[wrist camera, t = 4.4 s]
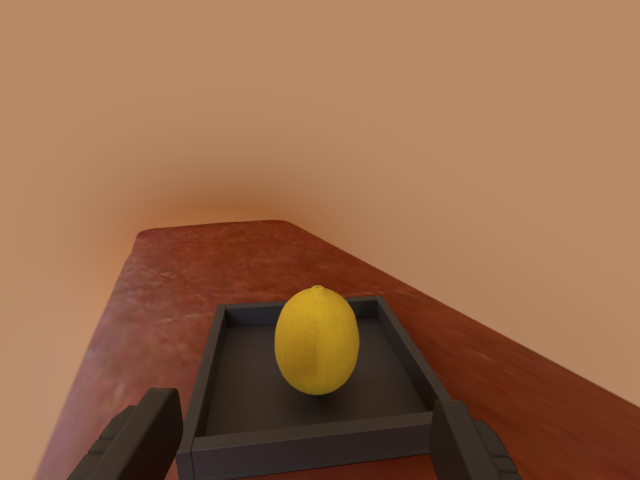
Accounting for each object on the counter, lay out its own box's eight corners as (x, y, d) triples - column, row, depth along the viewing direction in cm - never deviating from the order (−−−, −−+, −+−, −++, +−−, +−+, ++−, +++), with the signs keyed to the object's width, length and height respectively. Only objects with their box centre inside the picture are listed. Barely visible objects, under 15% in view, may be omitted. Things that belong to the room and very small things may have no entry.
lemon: (340, 358, 26) (344, 265, 24) (368, 413, 21) (377, 303, 18) (270, 370, 25) (267, 273, 22) (282, 432, 20) (280, 316, 17)
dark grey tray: (380, 315, 33) (382, 295, 32) (460, 449, 19) (466, 419, 18) (219, 326, 31) (217, 304, 30) (179, 486, 17) (173, 453, 16)
